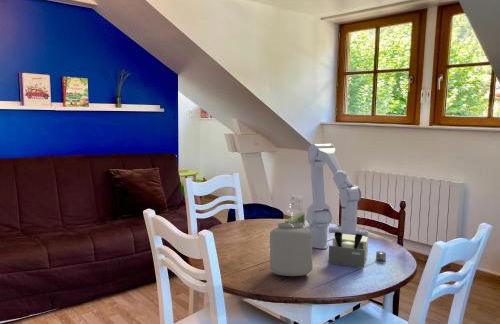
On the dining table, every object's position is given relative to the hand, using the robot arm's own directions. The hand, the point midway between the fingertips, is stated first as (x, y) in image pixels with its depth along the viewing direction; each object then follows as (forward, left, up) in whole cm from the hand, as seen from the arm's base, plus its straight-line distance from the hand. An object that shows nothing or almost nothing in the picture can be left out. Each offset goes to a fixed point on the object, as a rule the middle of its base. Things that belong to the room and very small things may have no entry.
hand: (347, 252), depth 158 cm
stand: (+12, +7, -4) cm, 14 cm away
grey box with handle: (0, 0, -3) cm, 3 cm away
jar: (-18, -18, -4) cm, 26 cm away
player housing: (0, +10, -4) cm, 10 cm away
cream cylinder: (0, 0, 0) cm, 0 cm away
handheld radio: (-30, +34, -4) cm, 45 cm away
